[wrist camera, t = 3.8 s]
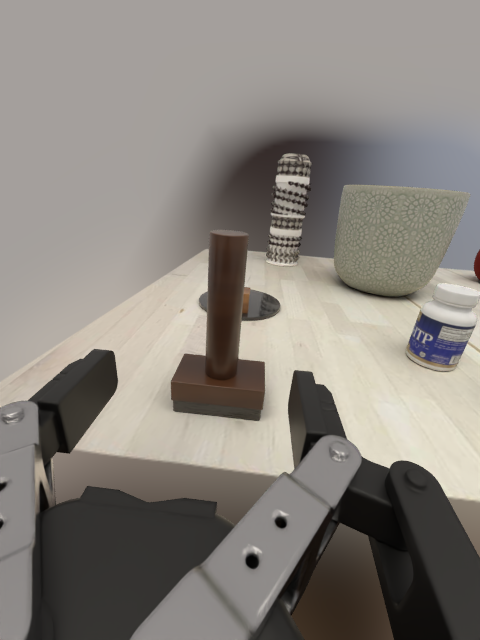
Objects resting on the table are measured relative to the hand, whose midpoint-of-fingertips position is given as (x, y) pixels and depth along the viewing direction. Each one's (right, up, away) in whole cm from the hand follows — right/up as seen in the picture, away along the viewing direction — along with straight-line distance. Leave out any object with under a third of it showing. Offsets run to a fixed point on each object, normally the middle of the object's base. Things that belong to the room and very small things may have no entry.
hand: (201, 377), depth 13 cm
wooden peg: (0, -4, +12) cm, 13 cm away
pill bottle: (+24, -2, +21) cm, 32 cm away
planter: (+30, +9, +48) cm, 58 cm away
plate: (+2, +5, +33) cm, 34 cm away
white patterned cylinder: (+13, +18, +64) cm, 67 cm away
